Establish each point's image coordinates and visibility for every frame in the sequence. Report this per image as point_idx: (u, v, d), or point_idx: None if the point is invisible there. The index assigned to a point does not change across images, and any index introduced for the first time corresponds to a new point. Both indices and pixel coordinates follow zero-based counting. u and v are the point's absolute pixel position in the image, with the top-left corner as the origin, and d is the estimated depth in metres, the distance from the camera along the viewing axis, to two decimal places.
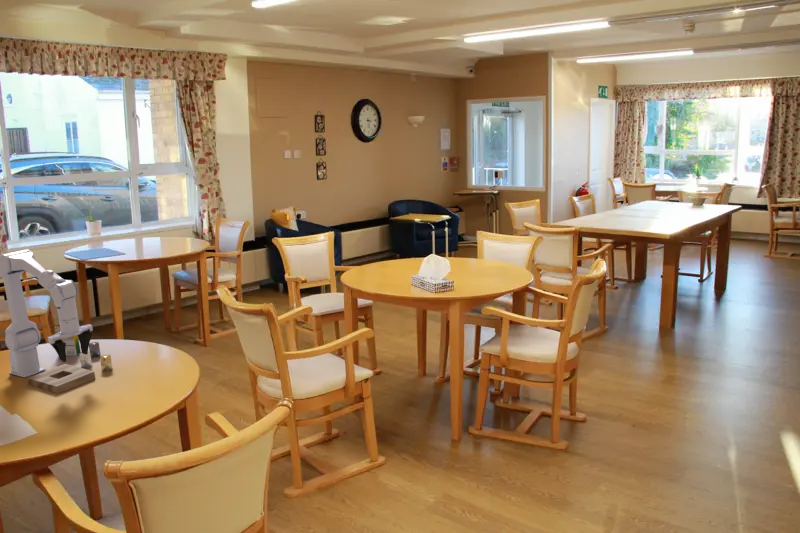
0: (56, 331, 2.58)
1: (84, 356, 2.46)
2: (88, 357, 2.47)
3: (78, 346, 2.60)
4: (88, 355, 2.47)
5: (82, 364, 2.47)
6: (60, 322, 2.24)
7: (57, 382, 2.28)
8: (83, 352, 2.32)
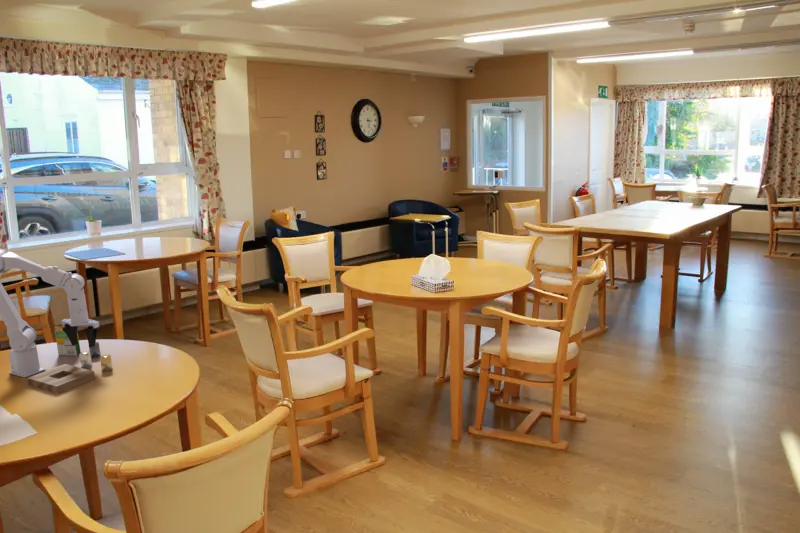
0: (56, 331, 2.58)
1: (84, 356, 2.46)
2: (88, 357, 2.47)
3: (78, 346, 2.60)
4: (88, 355, 2.47)
5: (82, 364, 2.47)
6: None
7: (57, 382, 2.28)
8: None
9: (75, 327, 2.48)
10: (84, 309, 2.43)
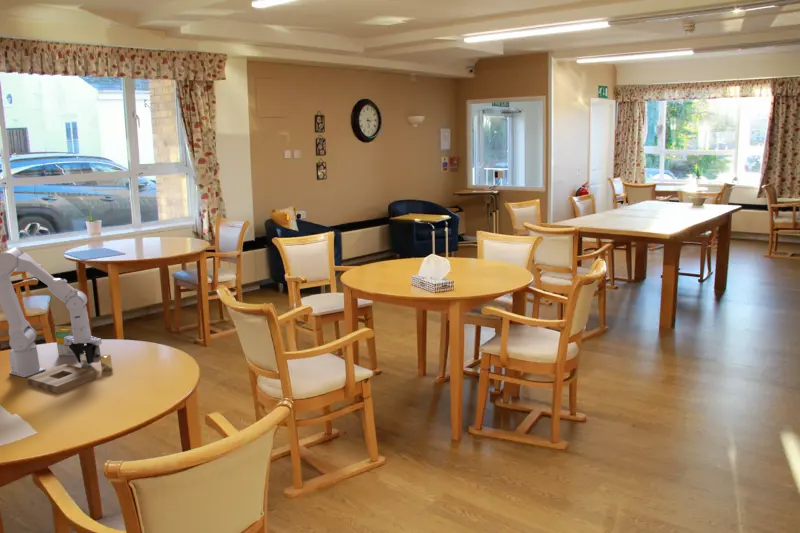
0: (56, 331, 2.58)
1: (84, 356, 2.46)
2: None
3: None
4: None
5: (82, 364, 2.47)
6: None
7: (57, 382, 2.28)
8: None
9: (82, 344, 2.49)
10: (87, 326, 2.44)
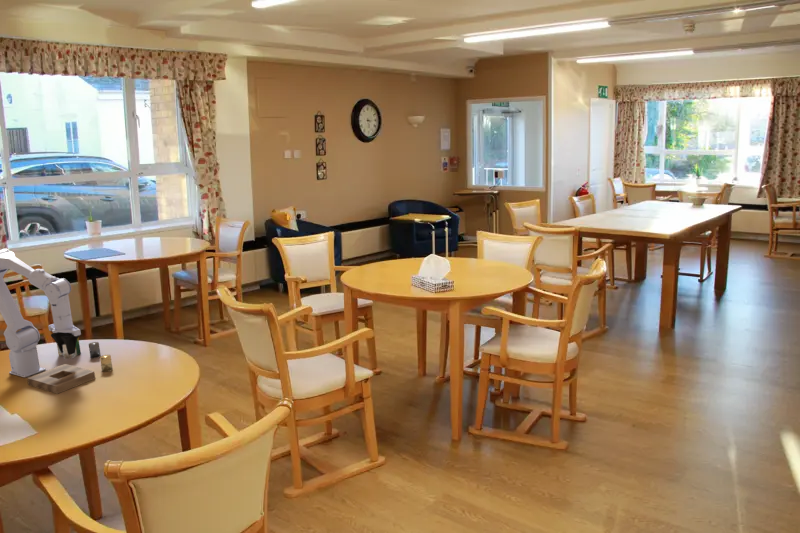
0: None
1: None
2: None
3: (78, 346, 2.60)
4: None
5: (64, 355, 2.37)
6: None
7: (57, 382, 2.28)
8: None
9: (65, 334, 2.39)
10: (67, 316, 2.34)
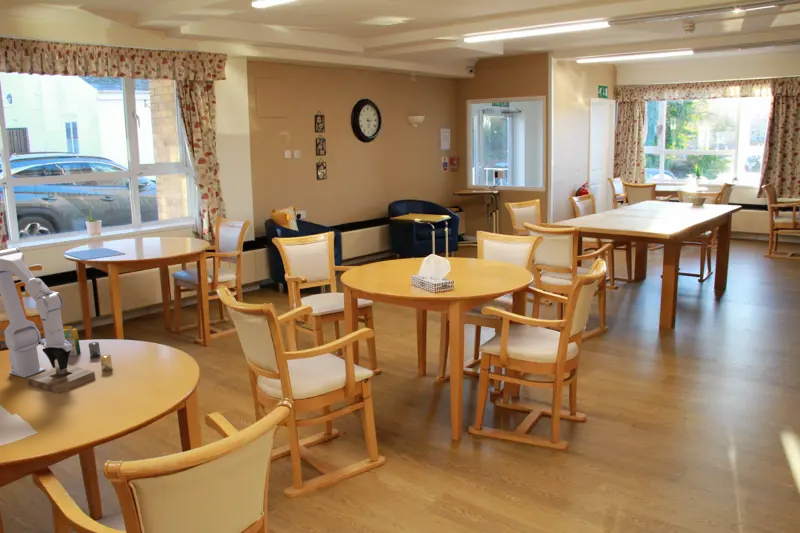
0: None
1: None
2: None
3: (78, 346, 2.60)
4: None
5: (56, 370, 2.33)
6: None
7: (57, 382, 2.28)
8: None
9: (57, 348, 2.35)
10: (58, 330, 2.30)
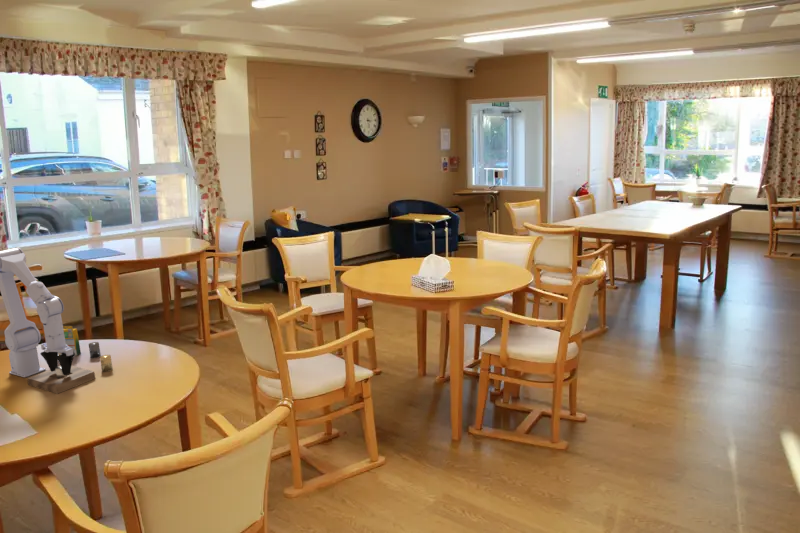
0: None
1: (59, 371, 2.33)
2: None
3: (78, 346, 2.60)
4: None
5: None
6: None
7: (57, 382, 2.28)
8: None
9: (55, 352, 2.36)
10: (59, 335, 2.30)
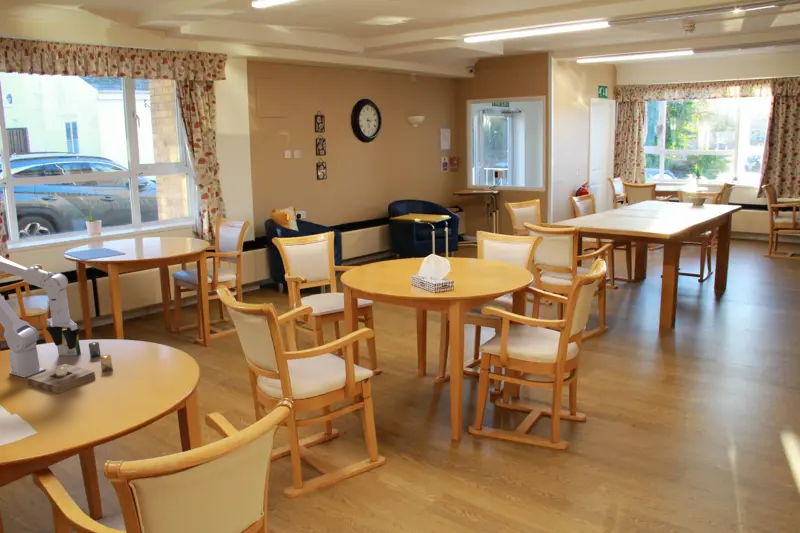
0: None
1: (59, 371, 2.33)
2: (64, 372, 2.34)
3: (78, 346, 2.60)
4: (64, 370, 2.34)
5: None
6: None
7: (57, 382, 2.28)
8: None
9: (60, 327, 2.44)
10: (64, 310, 2.37)
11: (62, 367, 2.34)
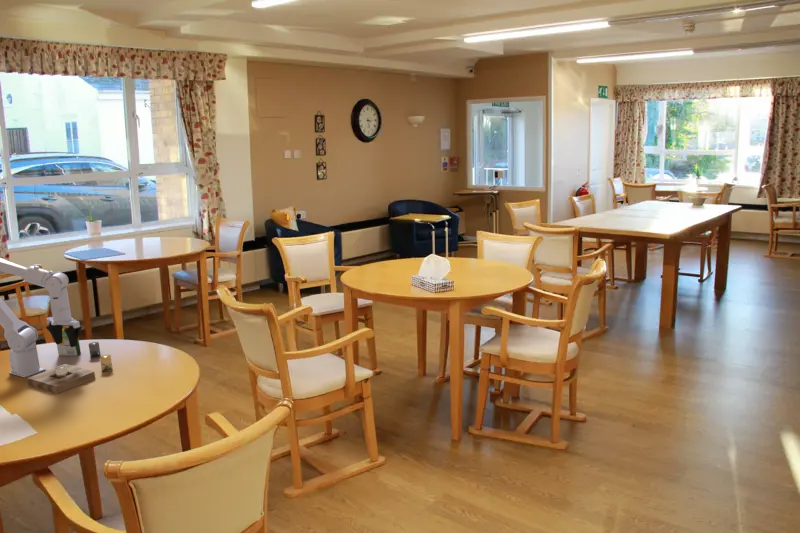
0: None
1: (59, 371, 2.33)
2: (64, 372, 2.34)
3: (78, 346, 2.60)
4: (64, 370, 2.34)
5: None
6: None
7: (57, 382, 2.28)
8: None
9: (60, 326, 2.45)
10: (66, 308, 2.39)
11: (62, 367, 2.34)
